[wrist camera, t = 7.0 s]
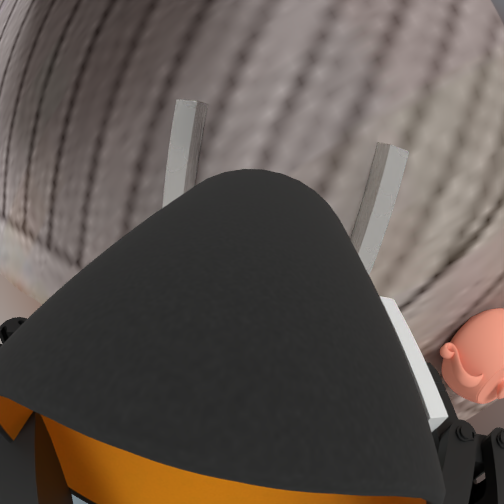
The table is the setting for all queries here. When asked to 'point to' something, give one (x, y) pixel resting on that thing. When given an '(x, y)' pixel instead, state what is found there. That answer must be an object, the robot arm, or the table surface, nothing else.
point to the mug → (225, 362)
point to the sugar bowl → (477, 358)
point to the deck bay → (373, 204)
